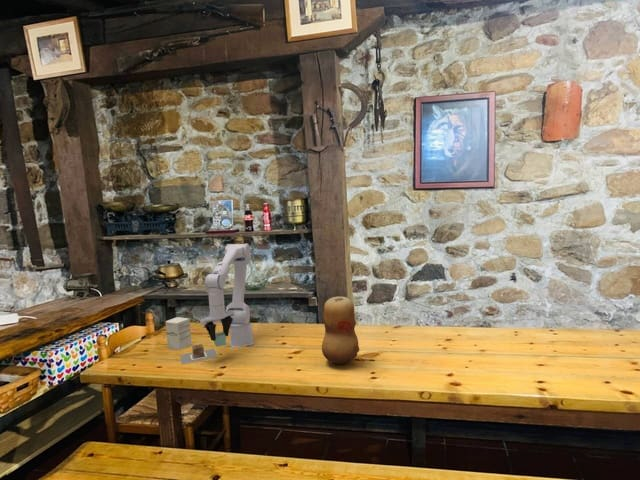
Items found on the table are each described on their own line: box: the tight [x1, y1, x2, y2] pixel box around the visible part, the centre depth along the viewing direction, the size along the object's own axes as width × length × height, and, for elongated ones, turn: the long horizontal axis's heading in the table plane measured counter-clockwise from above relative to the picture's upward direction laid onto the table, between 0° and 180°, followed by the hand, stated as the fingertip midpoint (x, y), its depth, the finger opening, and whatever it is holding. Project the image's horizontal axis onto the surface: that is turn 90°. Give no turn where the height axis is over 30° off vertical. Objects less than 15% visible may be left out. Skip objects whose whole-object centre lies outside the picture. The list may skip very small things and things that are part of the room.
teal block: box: [213, 331, 227, 348], centre depth 166 cm, size 4×4×4 cm
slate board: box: [179, 348, 219, 365], centre depth 172 cm, size 14×11×1 cm
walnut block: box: [191, 343, 205, 359], centre depth 171 cm, size 4×4×4 cm
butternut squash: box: [321, 296, 360, 365], centre depth 157 cm, size 14×13×25 cm
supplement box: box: [165, 316, 193, 351], centre depth 183 cm, size 7×7×13 cm
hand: (219, 338), depth 166 cm, fingers closed on teal block, 5 cm apart
